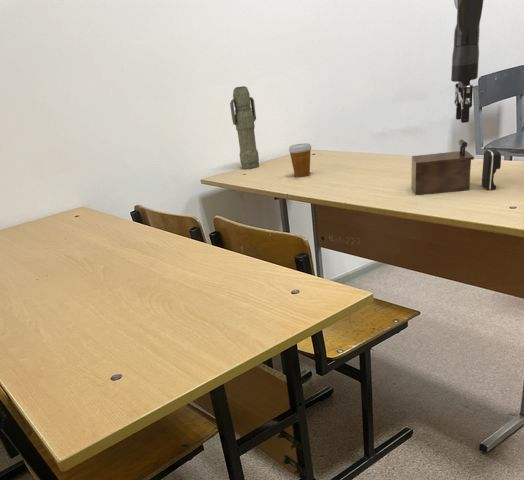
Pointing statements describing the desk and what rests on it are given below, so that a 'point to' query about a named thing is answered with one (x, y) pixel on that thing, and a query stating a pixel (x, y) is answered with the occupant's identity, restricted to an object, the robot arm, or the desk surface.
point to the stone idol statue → (245, 126)
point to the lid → (444, 156)
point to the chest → (441, 177)
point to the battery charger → (490, 168)
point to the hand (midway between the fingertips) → (462, 120)
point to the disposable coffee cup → (300, 159)
